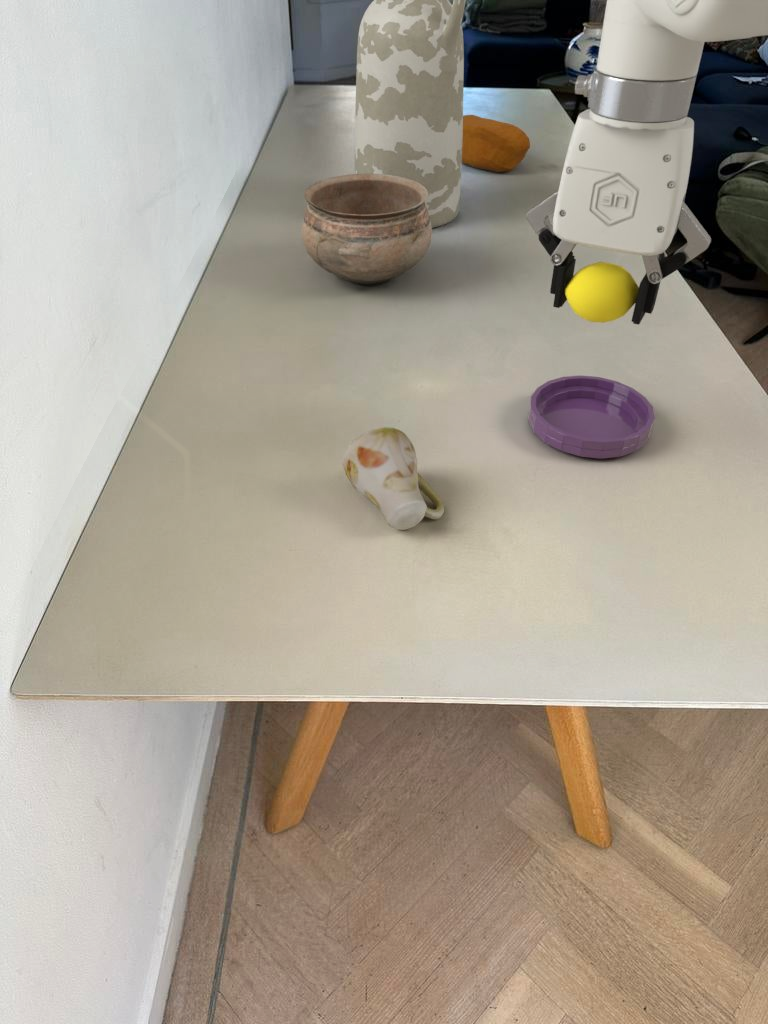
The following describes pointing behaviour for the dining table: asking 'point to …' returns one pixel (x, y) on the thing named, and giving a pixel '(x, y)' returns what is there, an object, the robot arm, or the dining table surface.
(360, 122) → the vase
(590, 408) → the dish
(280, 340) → the dining table surface
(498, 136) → the bread
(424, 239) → the cooking pot
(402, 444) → the mug
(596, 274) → the lemon
